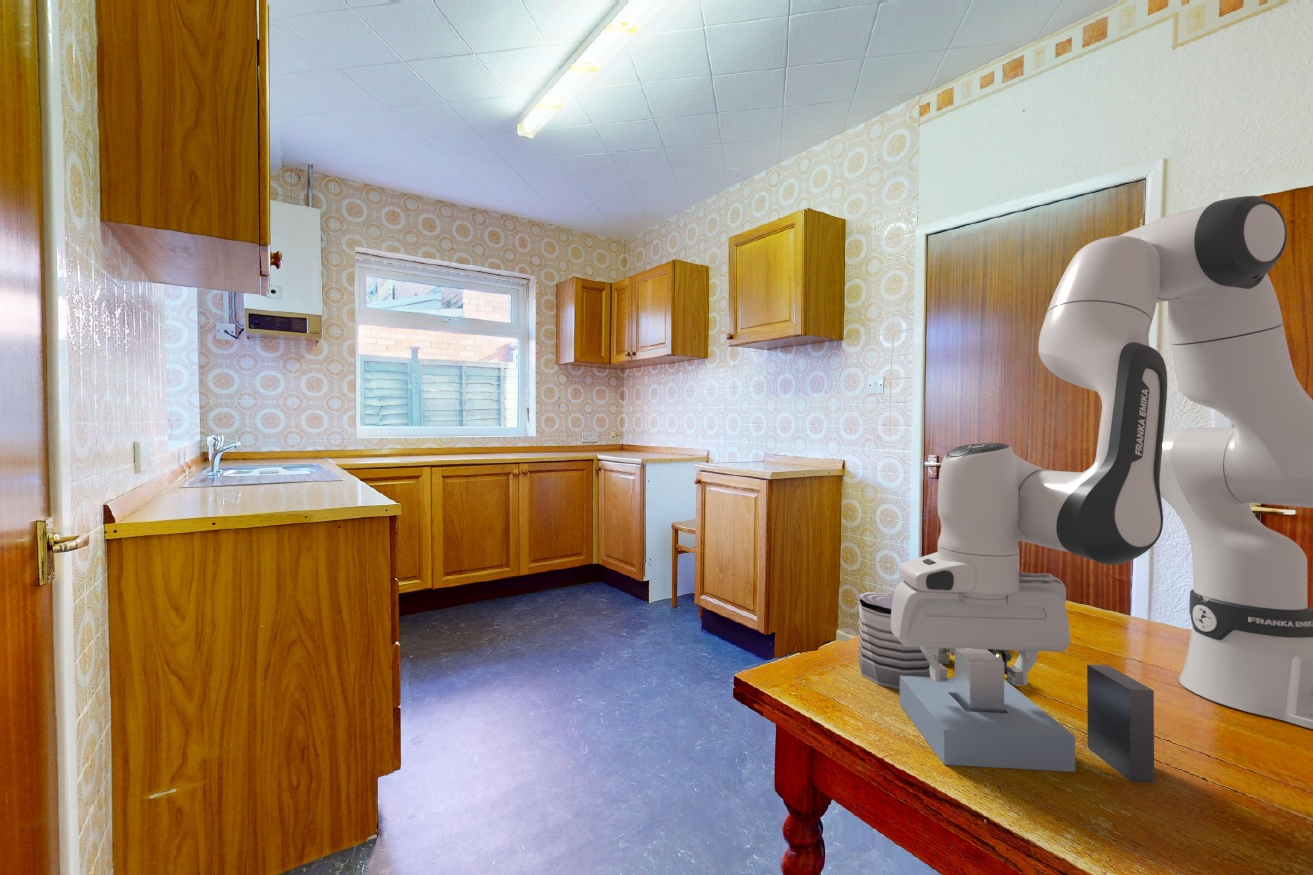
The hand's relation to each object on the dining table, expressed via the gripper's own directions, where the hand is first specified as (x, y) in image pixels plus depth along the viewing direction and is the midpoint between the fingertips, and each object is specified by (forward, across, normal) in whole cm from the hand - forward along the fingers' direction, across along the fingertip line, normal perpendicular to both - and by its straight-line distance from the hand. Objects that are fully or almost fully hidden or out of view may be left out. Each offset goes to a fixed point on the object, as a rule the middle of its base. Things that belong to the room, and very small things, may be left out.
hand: (977, 681), depth 67 cm
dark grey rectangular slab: (+7, -13, +5) cm, 15 cm away
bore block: (+7, 0, 0) cm, 7 cm away
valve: (+7, -7, -20) cm, 23 cm away
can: (+7, +4, -17) cm, 19 cm away
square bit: (+7, 0, 0) cm, 7 cm away
